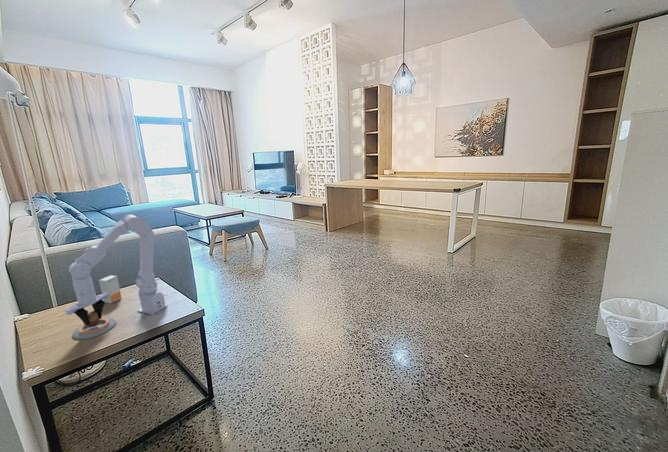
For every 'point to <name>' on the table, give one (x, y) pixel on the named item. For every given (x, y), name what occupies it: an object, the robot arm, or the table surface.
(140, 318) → the table surface
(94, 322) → the brown rounded cylinder
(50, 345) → the table surface
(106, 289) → the skincare box
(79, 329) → the ring dish
